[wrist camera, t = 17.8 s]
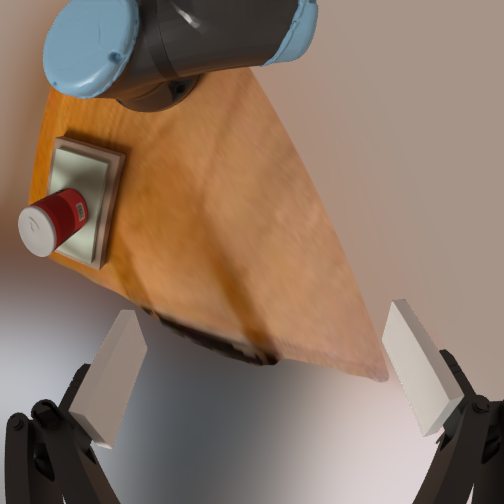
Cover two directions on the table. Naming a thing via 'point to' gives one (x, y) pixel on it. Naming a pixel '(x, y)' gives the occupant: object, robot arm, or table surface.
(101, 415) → the robot arm
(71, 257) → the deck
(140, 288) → the table surface
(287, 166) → the table surface
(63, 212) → the canned food
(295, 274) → the table surface
